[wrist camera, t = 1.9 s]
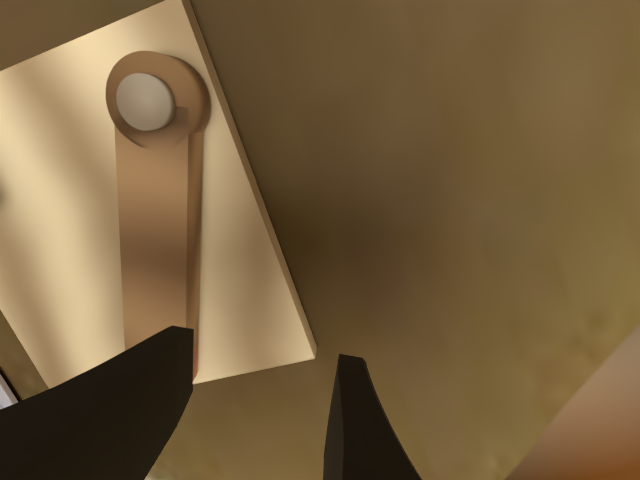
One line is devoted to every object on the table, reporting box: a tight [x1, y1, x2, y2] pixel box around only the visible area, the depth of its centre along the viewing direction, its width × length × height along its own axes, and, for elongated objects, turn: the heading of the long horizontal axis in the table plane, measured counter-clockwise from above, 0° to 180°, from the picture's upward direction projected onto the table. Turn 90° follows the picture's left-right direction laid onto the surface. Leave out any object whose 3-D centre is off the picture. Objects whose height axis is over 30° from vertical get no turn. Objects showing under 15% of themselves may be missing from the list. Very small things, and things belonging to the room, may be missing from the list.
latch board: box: [0, 0, 317, 389], centre depth 20 cm, size 16×17×1 cm
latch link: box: [106, 51, 211, 380], centre depth 18 cm, size 15×4×2 cm, turn 173°
